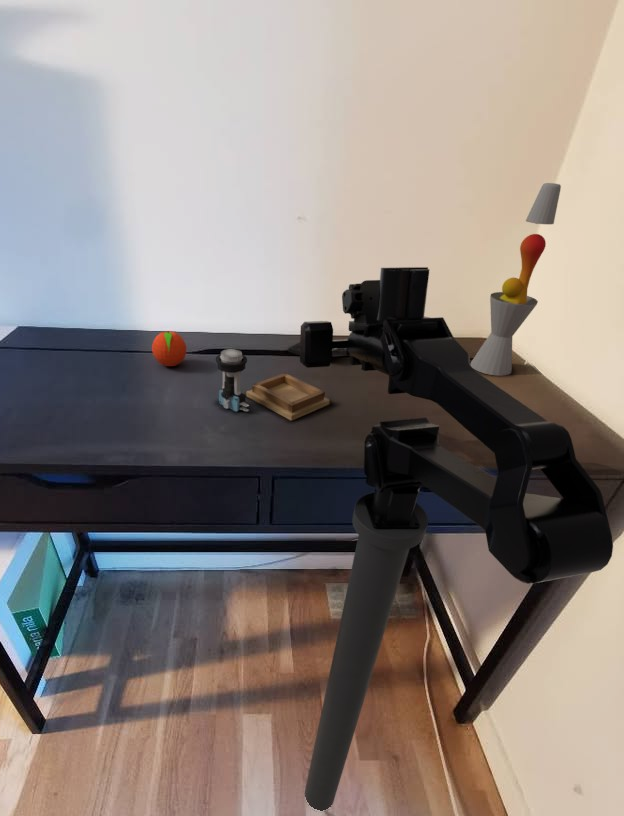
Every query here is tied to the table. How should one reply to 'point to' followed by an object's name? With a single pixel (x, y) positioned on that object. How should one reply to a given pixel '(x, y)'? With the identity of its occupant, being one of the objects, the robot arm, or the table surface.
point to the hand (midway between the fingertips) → (340, 334)
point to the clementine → (169, 348)
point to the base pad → (288, 396)
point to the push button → (231, 379)
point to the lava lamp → (516, 292)
